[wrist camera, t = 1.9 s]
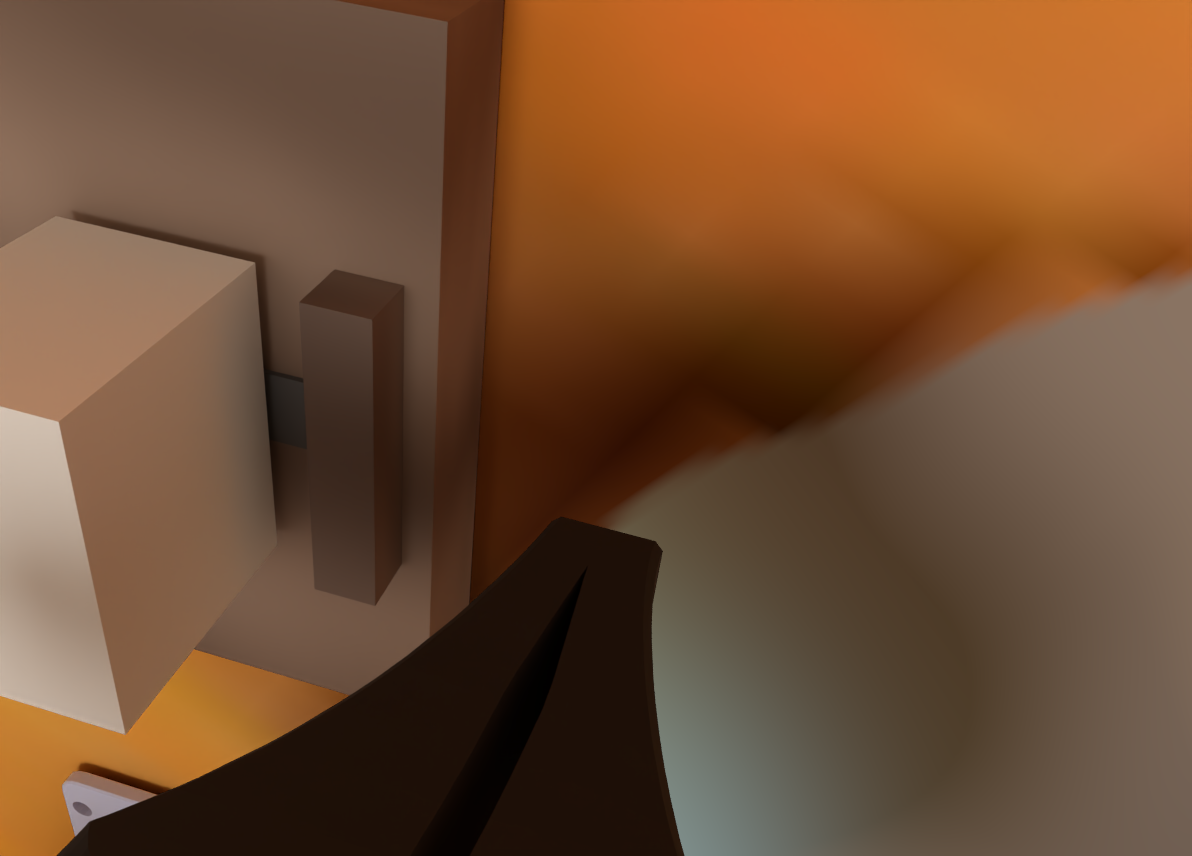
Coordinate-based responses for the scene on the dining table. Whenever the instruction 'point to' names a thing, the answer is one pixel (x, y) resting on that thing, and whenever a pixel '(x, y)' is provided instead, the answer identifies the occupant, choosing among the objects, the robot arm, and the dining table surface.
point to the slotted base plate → (300, 267)
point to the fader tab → (124, 462)
